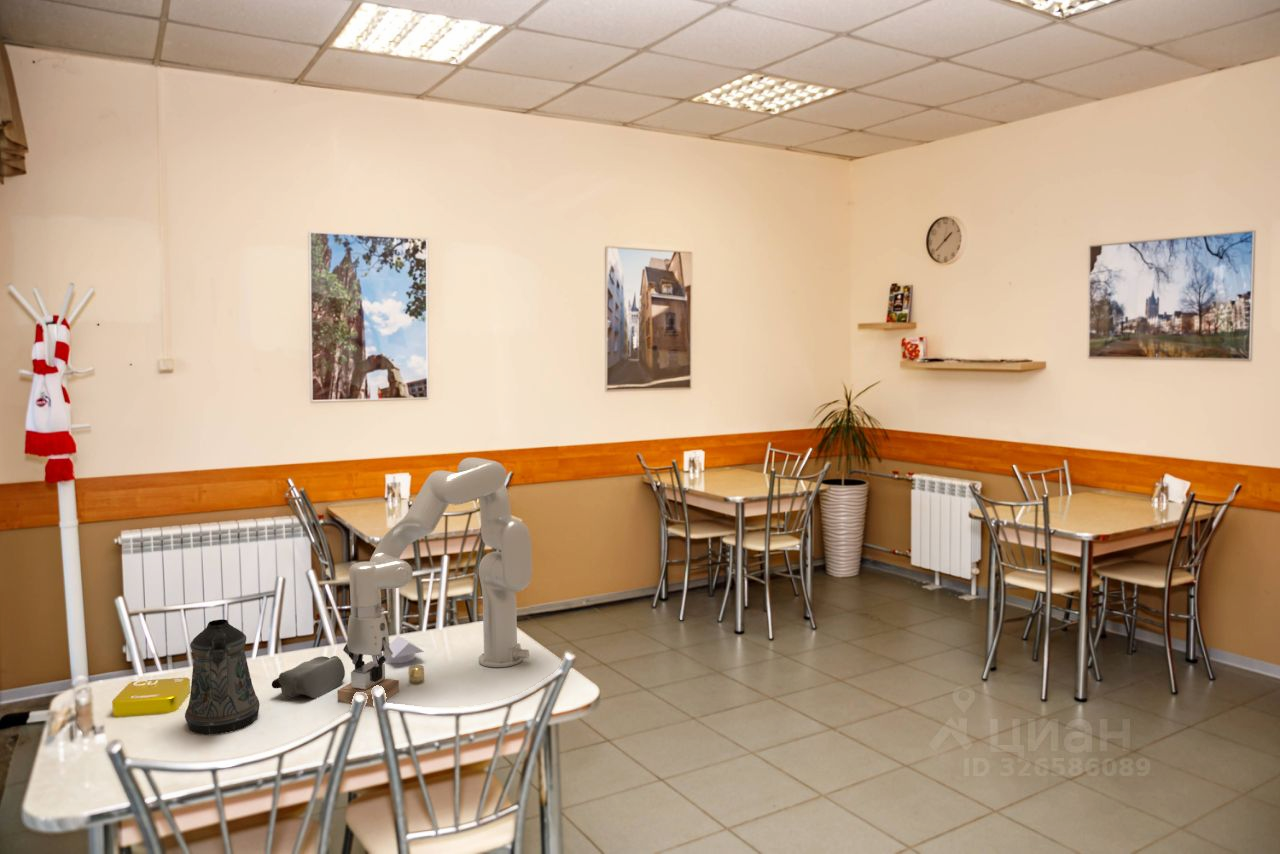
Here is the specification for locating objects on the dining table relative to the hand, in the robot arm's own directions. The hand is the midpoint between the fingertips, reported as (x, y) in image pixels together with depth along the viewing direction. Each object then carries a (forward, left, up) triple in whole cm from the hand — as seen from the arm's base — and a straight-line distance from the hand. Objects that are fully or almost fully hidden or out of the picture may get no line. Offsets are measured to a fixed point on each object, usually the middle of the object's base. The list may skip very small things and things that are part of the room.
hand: (368, 678), depth 240 cm
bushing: (-6, -13, -5) cm, 15 cm away
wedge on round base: (+8, -27, -5) cm, 28 cm away
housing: (0, 0, -1) cm, 1 cm away
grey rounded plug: (+18, +1, -5) cm, 19 cm away
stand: (0, 0, -5) cm, 5 cm away
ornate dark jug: (+23, +25, -5) cm, 35 cm away
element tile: (+50, +21, -5) cm, 55 cm away
